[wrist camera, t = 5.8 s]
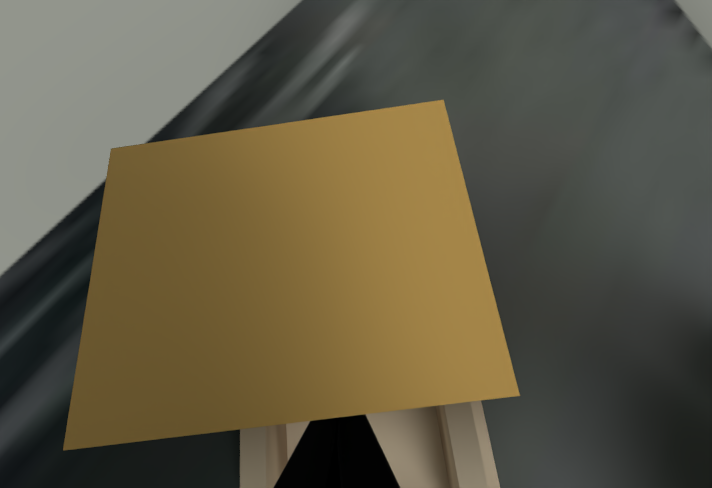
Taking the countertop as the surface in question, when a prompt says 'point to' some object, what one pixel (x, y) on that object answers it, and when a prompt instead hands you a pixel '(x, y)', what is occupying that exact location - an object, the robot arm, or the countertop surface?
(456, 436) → the guide
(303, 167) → the button
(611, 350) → the countertop surface
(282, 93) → the countertop surface
